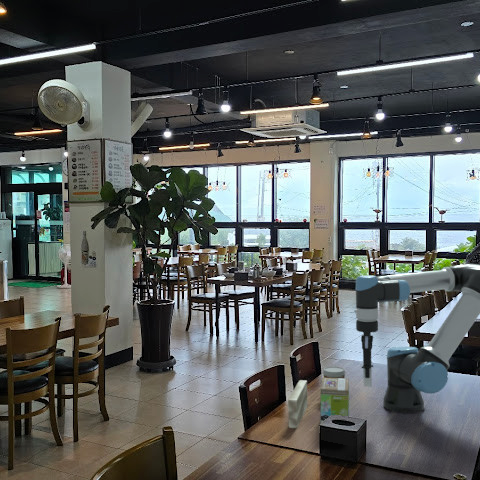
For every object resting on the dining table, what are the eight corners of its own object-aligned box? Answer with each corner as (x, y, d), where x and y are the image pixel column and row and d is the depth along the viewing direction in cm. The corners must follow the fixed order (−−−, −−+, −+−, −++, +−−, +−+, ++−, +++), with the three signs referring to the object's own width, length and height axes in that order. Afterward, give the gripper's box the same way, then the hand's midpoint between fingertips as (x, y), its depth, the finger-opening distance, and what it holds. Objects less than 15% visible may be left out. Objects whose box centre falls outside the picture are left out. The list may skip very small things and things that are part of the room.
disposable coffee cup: (320, 400, 223) (319, 371, 223) (325, 393, 232) (325, 365, 232) (343, 403, 220) (343, 373, 219) (348, 395, 228) (347, 367, 228)
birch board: (307, 405, 218) (306, 380, 217) (297, 428, 195) (296, 400, 194) (300, 405, 219) (299, 380, 218) (288, 427, 196) (288, 399, 195)
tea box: (349, 432, 190) (348, 389, 190) (320, 430, 192) (319, 388, 192) (349, 416, 205) (348, 377, 204) (322, 415, 207) (321, 376, 206)
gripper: (357, 316, 201) (358, 380, 202) (354, 322, 189) (355, 390, 189) (378, 316, 199) (379, 381, 200) (377, 323, 186) (378, 392, 187)
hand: (367, 385), depth 195 cm, fingers closed
